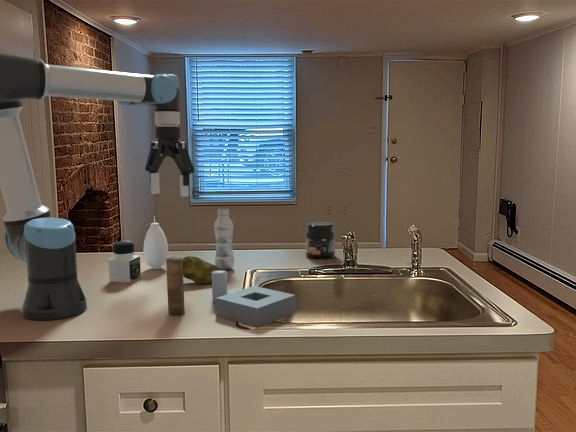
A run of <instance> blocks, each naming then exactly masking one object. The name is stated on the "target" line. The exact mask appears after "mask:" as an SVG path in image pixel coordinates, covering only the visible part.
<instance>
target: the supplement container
mask: <svg viewBox="0 0 576 432" xmlns="http://www.w3.org/2000/svg"><path fill="white" fill-rule="evenodd" d="M334 229H335V227H334V222H330V221H329V222H328V221H312V222H308V223H306V230H307V231H306V232H305V255H306V257H308V258H309V259H312V260H313V259H314V260H329V259H332V258H333V257H335V255H336V251H335V249H336V246H335V245H336V243H335V242H336V239H335V238H336V237H335V236H336V233H335V231H334Z"/></svg>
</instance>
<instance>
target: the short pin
mask: <svg viewBox="0 0 576 432" xmlns="http://www.w3.org/2000/svg"><path fill="white" fill-rule="evenodd" d="M211 288H212V289H211V295H212V303H213V304H216V299H215V298H217V297H220V296H223V295H226V294H228V273H227V270H222V271H213V272H212V283H211Z"/></svg>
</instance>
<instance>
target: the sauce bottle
mask: <svg viewBox="0 0 576 432" xmlns="http://www.w3.org/2000/svg"><path fill="white" fill-rule="evenodd" d="M168 244H169V243H168V241H167V237H166V235H165V233H164V231H163V229H162V228H161V227H160V223H159V222H156V216H155V215H154V216H153V222H152V223H150V227H149V228H148V229H147V232H146V235H145V236H144V241H143V249H142V250H143V257H144V261H145V263H146V264H147V266H149V267H150V268H151V269H154V270H156V271H157V270H160V269H162V268H163V266H165V265H166V259H167V258H169V245H168Z"/></svg>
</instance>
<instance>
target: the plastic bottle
mask: <svg viewBox="0 0 576 432" xmlns="http://www.w3.org/2000/svg"><path fill="white" fill-rule="evenodd" d="M229 215H230V210H229V208H218V209H217V218H216V220H215V221H214V224H213V229H214V236H215V247H216V248H215V259H214V265H216V266H218V267H220V268H221V269H222V271H228V270H232V269H233V268H234V267H235V256H234V251H233V250H234V249H233V234H234V223H233V220H232V219H231V218H230V216H229Z"/></svg>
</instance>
